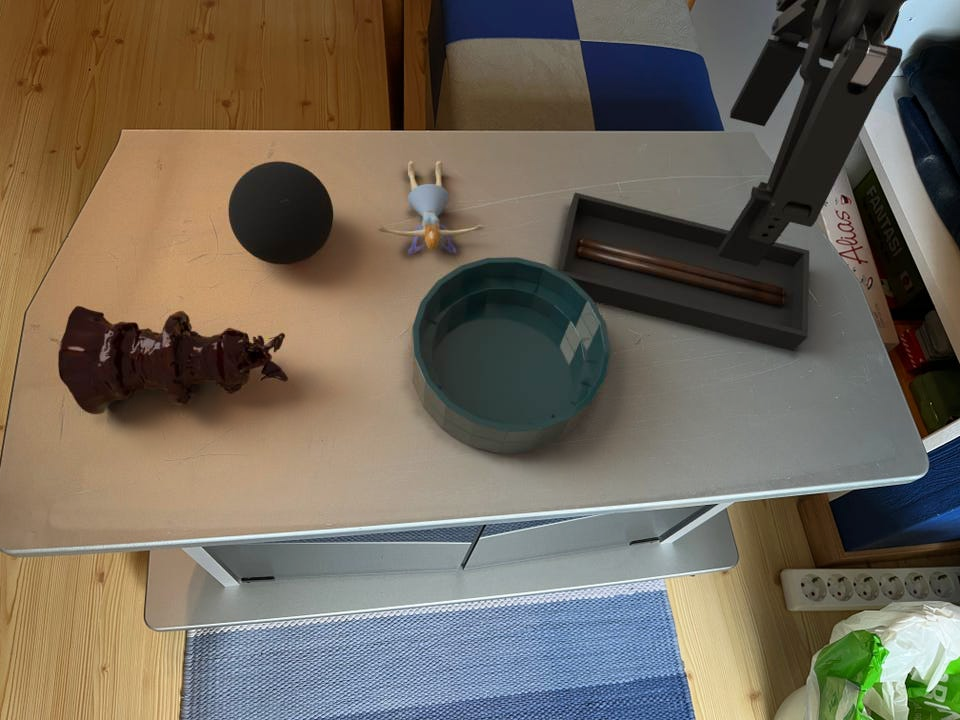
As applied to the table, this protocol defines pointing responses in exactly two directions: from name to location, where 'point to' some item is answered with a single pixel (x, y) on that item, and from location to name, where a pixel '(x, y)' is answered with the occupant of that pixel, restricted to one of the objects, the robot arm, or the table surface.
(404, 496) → the table surface
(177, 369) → the figurine
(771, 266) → the tray
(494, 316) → the bowl
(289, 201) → the speaker
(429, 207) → the fairy figurine
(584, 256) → the chopsticks
